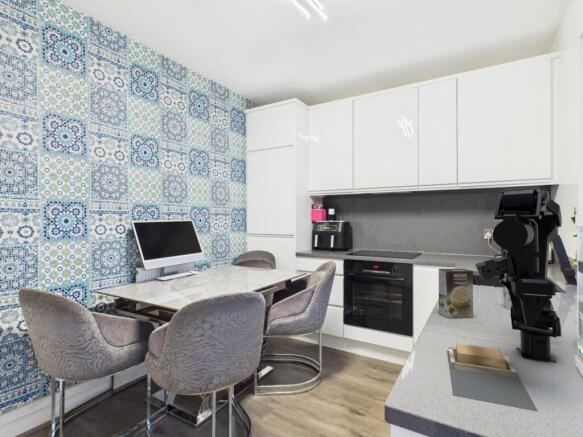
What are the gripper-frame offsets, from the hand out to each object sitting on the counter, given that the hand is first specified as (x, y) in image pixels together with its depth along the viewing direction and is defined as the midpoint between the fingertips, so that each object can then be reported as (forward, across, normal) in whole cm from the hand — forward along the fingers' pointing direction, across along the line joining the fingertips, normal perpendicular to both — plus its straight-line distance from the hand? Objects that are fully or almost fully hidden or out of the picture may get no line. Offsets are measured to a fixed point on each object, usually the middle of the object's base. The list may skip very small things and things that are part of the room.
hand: (523, 319), depth 67 cm
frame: (+12, -2, -8) cm, 14 cm away
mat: (+12, +4, -8) cm, 15 cm away
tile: (+12, -2, -8) cm, 14 cm away
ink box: (+12, -60, +12) cm, 62 cm away
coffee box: (+12, -42, -10) cm, 45 cm away
